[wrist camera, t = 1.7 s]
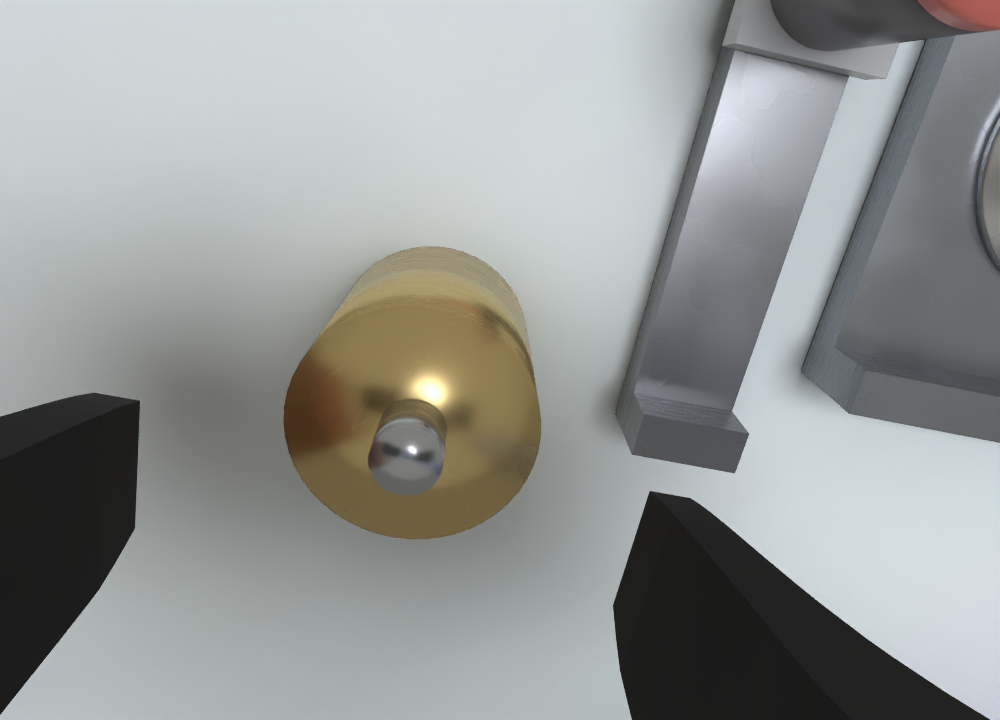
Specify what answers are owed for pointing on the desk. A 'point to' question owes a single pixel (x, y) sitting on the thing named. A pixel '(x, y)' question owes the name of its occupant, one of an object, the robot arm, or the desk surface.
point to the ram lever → (851, 29)
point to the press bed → (926, 258)
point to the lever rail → (724, 256)
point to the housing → (417, 398)
